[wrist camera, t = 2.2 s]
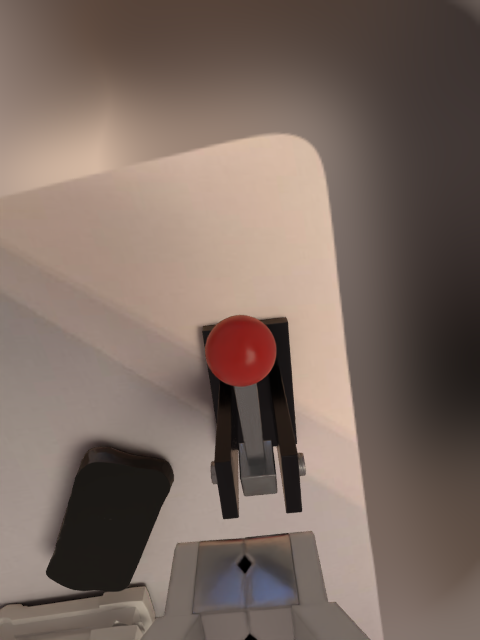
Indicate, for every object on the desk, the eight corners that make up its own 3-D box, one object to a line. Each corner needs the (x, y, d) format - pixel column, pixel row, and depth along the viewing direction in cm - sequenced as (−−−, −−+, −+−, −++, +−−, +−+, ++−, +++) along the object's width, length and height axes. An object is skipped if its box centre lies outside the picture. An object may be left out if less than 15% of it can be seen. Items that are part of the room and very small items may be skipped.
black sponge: (93, 428, 40) (80, 454, 36) (181, 455, 41) (176, 483, 38) (55, 551, 45) (40, 583, 42) (133, 571, 46) (124, 605, 43)
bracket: (203, 325, 36) (187, 410, 24) (286, 317, 36) (311, 397, 24) (221, 443, 41) (215, 564, 29) (295, 436, 40) (320, 555, 28)
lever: (200, 304, 19) (199, 360, 17) (270, 297, 19) (279, 351, 17) (234, 457, 30) (236, 503, 28) (280, 453, 30) (285, 499, 28)
